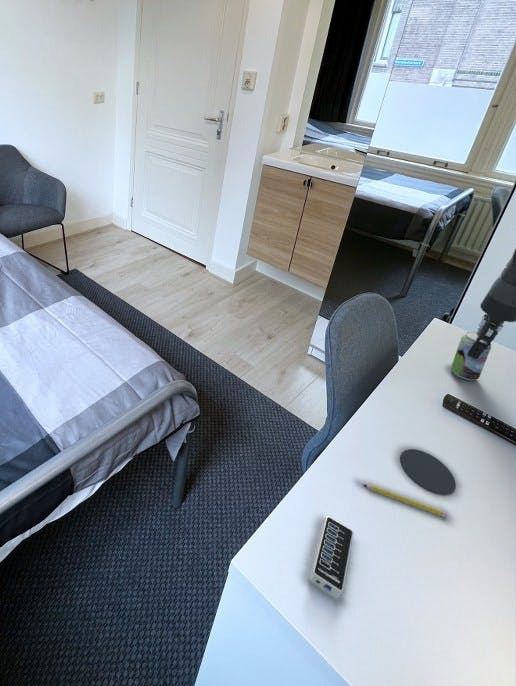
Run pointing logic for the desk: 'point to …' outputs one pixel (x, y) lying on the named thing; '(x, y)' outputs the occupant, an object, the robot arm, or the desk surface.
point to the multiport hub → (331, 557)
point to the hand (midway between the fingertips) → (474, 350)
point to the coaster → (427, 471)
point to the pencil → (407, 500)
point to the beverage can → (468, 358)
